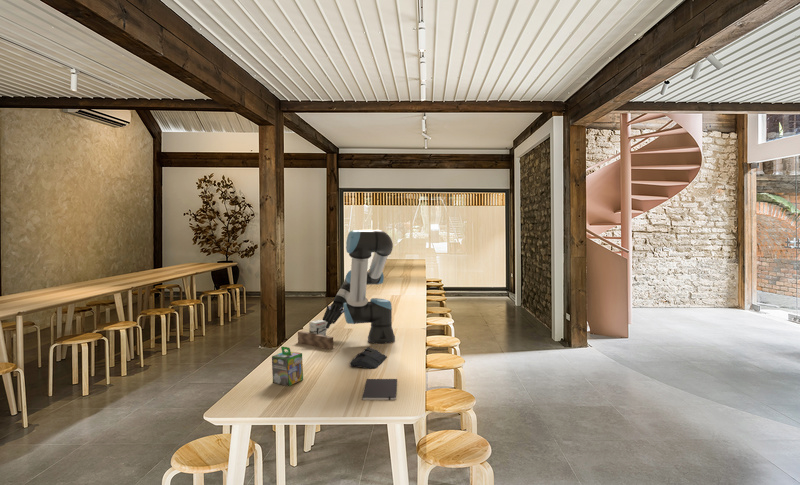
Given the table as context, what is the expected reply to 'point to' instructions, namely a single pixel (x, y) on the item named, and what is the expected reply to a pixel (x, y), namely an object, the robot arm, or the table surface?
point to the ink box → (317, 327)
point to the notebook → (380, 389)
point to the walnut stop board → (315, 340)
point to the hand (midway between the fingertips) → (321, 332)
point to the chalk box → (287, 367)
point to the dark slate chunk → (368, 359)
